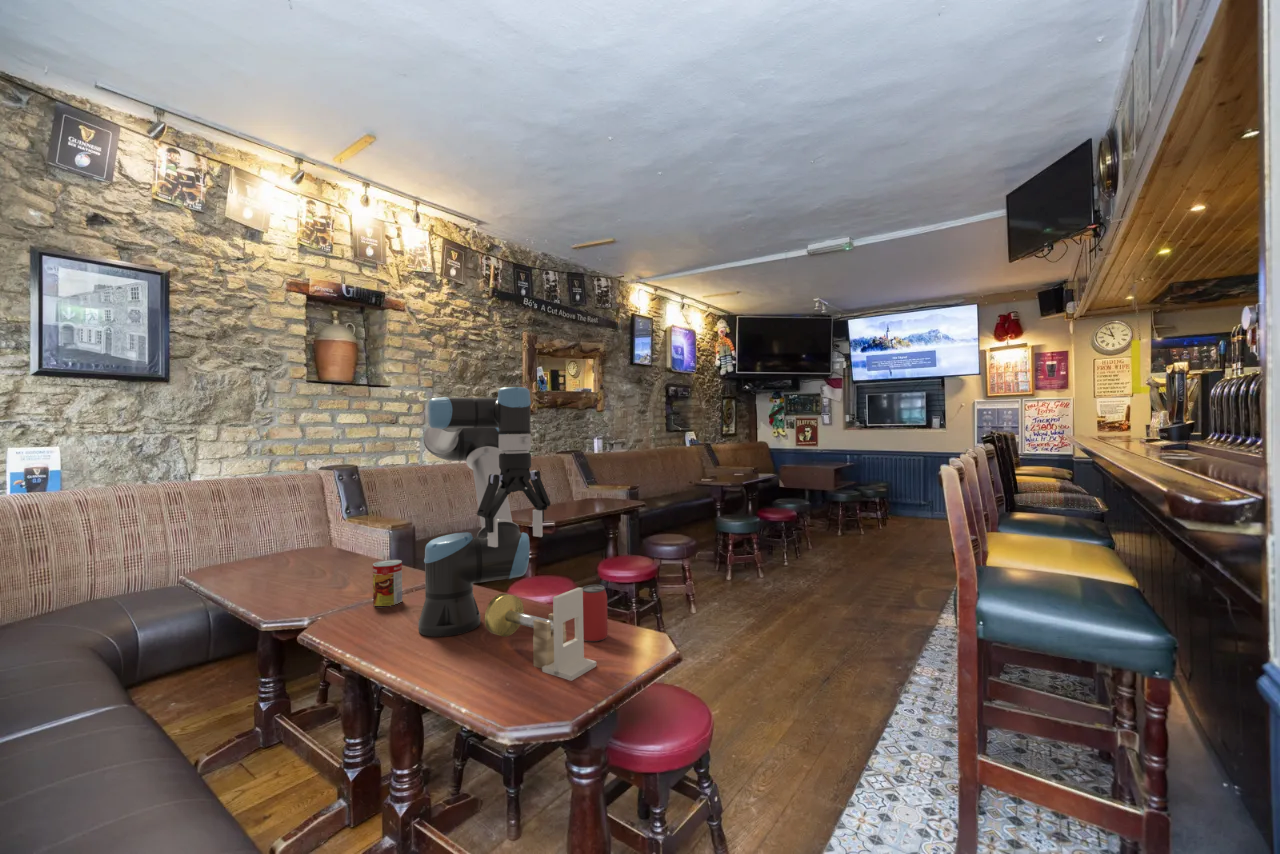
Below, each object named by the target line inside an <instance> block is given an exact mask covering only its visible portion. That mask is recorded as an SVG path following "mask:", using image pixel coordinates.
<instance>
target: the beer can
mask: <svg viewBox="0 0 1280 854" xmlns="http://www.w3.org/2000/svg"><path fill="white" fill-rule="evenodd" d="M582 588H583V631H584V641H586V642H591V643H595V642H601V641H603V640H605V639H607V638H608V635H609V634H608V633H609V628H608V627H609V623H608V621H607V620H608V619H609V618H608V617H609V616H608V594H607V592H606V587H605V586H604V585H601V584H589V585H584V586H583V587H582Z"/></svg>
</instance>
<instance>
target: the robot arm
mask: <svg viewBox="0 0 1280 854" xmlns="http://www.w3.org/2000/svg"><path fill="white" fill-rule="evenodd" d="M530 391H531V390H529V388H527V387H521V386H520V387H519V386H517V387H516V386H513V387H512V386H511V387H510V386H509V387H507V386H505V387H500V388H498V391H497V397H447V396H442V397H441V396H440V397H432V398H430V399H429V401H428V406H427V408H428V411H427V413H428V414H427V419H428V427H427V428H426V429H425V431H424V435H423V444H424V447H425V449H426V450H427V451H428V452H429V453H430V454H431V455H433V456H435V457H436V458H438V459H442V460H446V461H451V462H457V461H458V462H461V461H462V462H463V461H465V462H466V466H467V467H468V468H469V469H470V470H472V473H473V475H472V476H473V480H474V486H475V493H476V500H477V509H478V510H477V512H476V515H477V516H478V517H479V521H480V527H481V529H480V530H479V531H478V532H477V536H476V537H473V534H472V533H471V532H467V531H466V532H465V531H464V532H455V533H451V534H446V535H442V536H438V537H436V538H433V539H431V540H430V541H429V542H428V543H426V545H425V547H424V559H423V562H424V564H425V566H424V568H425V569H424V571H425V572H424V574H425V575H424V577H425V578H424V579H425V583H424V584H425V586H424V587H425V591H424V592H425V597H424V599H425V600H424V603H423V607H422V609H421V613H420V617H419V619H418V633H419V634H420V635H423V636H426V637H434V638H439V637H440V638H441V637H443V638H444V637H452V636H458V635H462V634H465V633H468V632H470V631H474V630H475V629H477V628H478V627H479V626H480V625H481V613H480V610H479V607H478V604H477V601H476V598H475V597H474V584H477V583H484V582H492V581H493V582H494V581H500V580H506V579H507V580H511V579H513V578H519V577H523V576H524V575H525V574H526V572H527V571H528V566H529V562H530V549H531V547H530V537H529V535H528V533H527V532H521V528H520V526H519V525H518V524H517V523H515V522H513V517H512V513H511V508H510V507H511V506H510V502H509V497H508V496H509V495H510V494H511V493H515V492H523V493H524V495H525V496H526V498H527V499H528V500H529V501H530V503H531V505H533V508H534V509H532V536H533V537H538V538H542V537H543V535H544V534H543V528H544V527H543V523H544V521H545V511H547V510H548V507H550V506H551V501H550V498H549V496H548V494H547V491H546V489H545V486H544V484H543V481H542V479H541V478H542V476H541V471H540V470H530V468H531V467H532V454H531V453H530V450H532V444H531V443H532V441H531V440H532V438H531V437H532V436H531V429H532V428H531V405H532V401H531V395H530ZM529 481H530V482H531V483H530V482H529Z"/></svg>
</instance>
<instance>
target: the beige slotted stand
mask: <svg viewBox="0 0 1280 854" xmlns="http://www.w3.org/2000/svg"><path fill="white" fill-rule="evenodd" d="M552 606H553V607H552V608H553V609H552V610H553V611H552V613H553V624H554V662H553V663H551V664H549V665H548V666H547V665H545V666H543V667H542V669H541V671H542V673H545V674H548V675H552V676H555V677H558V678H561V679H564V680H568V681H569V682H570V681H573V680H575V679H577V678H579V677H580V676H582V675H584V674H586V673H587V672H590V670H591V671H592V670H593V669H594V668H596V667H597V661H596V660H592V659H590V658H585V645H584V641H585V640H584V631H583V587H579V586H578V587H576V588H574V589H573V588H572V589H571V590H569V591H564V592H563V593H560V594H557V595H555V596H552ZM572 619H574V638H573V639H570V640H568V641H566V643H564V644H563V623H564V622H565V623H566V622H568V621H570V620H572Z"/></svg>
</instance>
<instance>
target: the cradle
mask: <svg viewBox="0 0 1280 854" xmlns="http://www.w3.org/2000/svg"><path fill="white" fill-rule="evenodd" d="M548 620H552V621H553V612H552V613H549V614H548ZM533 622H534V628H533V636H532V643H533V644H532V649H533V651H532V653H533V657H532V658H533V659H532V661H533V667H535V668H539V669H541V670H542V667H543V666H545V665H547V666H548V665H549V664H551V663H553V662H554V630H553V631H551V623H550V622H546V621H542V620H538V619H536V620H534V621H533ZM566 642H567V631H566V622H564V623H563V644H564V643H566Z"/></svg>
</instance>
